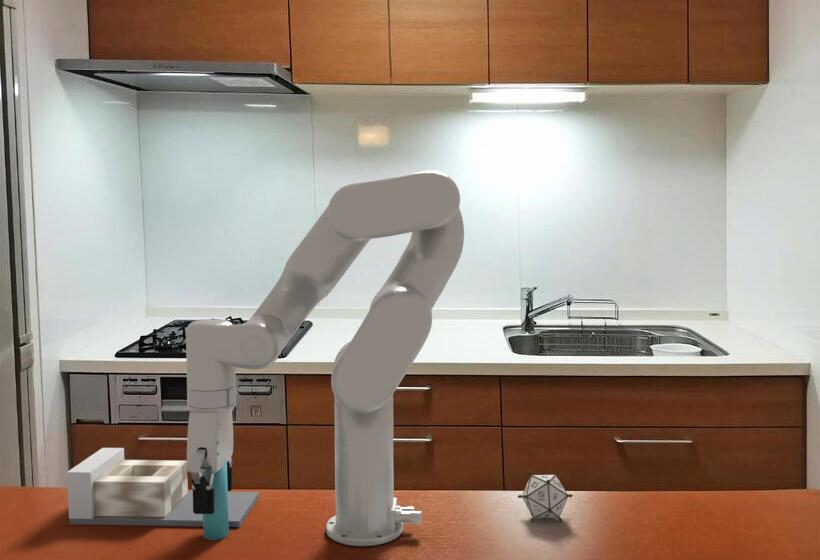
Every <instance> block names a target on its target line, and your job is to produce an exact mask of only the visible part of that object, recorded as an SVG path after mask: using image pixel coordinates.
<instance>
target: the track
mask: <svg viewBox="0 0 820 560" xmlns="http://www.w3.org/2000/svg"><path fill="white" fill-rule="evenodd" d="M122 460H125V448H124V447H102V448H100V449H98V451H95V452H94V453H93V454H91V455H90V456H88V457H86V459H84V460H82V461H81V462H80V463H78V464H77V465H75V466H74V467H72V468H70V470H68V471H66V481H67V483H66V484H67V500H68V505H67V506H68V523H69V525H92V526H93V525H94V526H97V525H98V526H101V525H103V526H148V527H149V526H151V527H152V526H155V527H158V526H159V527H203V514H194V513H193V490H188V493H187V494H186V495H185V496H184V497H183V498H182V500H181V501H180V502H179V503H178V504H177V505H176V506H175V507H174V508H173V509H172V510H171V511H170V512H169V514H168V515H167V516H166V517H134V516H96V514H95V491H94V481H95V480H97V479H98V478H99V477H101V476H102V475H103V474H104V473H106V472H107V471H108V470H110V469H111V468H112V467H114V466H115V465H116V464H118V463H119V462H120V461H122ZM259 498H260V492H259V491H228V521H229V528H240V527H241V525H242V524H243V523H244V522H245V520H246V518H247V517H248V515H249V514H248V513H250V512H251V511H252V509H253V508H254V506H255V505H256V503H257V501H258V500H259ZM257 499H258V500H257ZM254 504H255V505H254ZM252 507H253V508H252ZM250 510H251V511H250ZM246 516H247V517H246ZM244 519H245V520H244Z"/></svg>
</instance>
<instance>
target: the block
mask: <svg viewBox="0 0 820 560" xmlns="http://www.w3.org/2000/svg"><path fill="white" fill-rule="evenodd" d="M188 481H189V479H188V471H187V460H165V459H163V460H161V459H160V460H159V459H157V460H156V459H124V460H122V461H120V462H119V463H118V464H116V465H115V466H114V467H112V468H111V469H110V470H108V471H107V472H106V473H104V474H103V475H102V476H101V477H99V478H98V479H97V480H95V481H94V491H95V514H96V516H134V517H166V516H167V515H168V514H169V512H170V511H171V510H172V509H173V508H174V507H175V506H176V505H177V504H178V503H179V502H180V501H181V500H182V498H183V497H184V496H185V495H186V494H187V493H188V491H189V486H188V485H189V483H188Z"/></svg>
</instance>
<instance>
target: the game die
mask: <svg viewBox="0 0 820 560" xmlns="http://www.w3.org/2000/svg"><path fill="white" fill-rule="evenodd" d="M527 474H528V475H529V478H528V480H527V482H526V485H525V487H524V489H523V492H522V494H518V496H516V497H517V498H519V499H522V500H523V502H524V504H525V506H526V508H527V510H528V512H529V513H530V515H531V518H530V523H531V522H532V523H534V521H535V519H558V521H559V522H560V523H562V522H563V518H562V517H561V514H562V512H563V510H564V508H565V505H566V503H567V500H568V498H572V497H573V496H574V495H573V494H571V493H569V494H568V493H567V491H566V489H565V487H564V485H563V484H562V482H561V480H560V479H559V477H558V475H559V470H558V469H557V470H555V473H554V474H553V473H552V474H550V473H549V474H546V473H545V474H532V472H531V471H529V470H527Z"/></svg>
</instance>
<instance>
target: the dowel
mask: <svg viewBox="0 0 820 560" xmlns="http://www.w3.org/2000/svg"><path fill="white" fill-rule="evenodd" d="M203 469H211V467H203ZM202 476H204V477H205V478H206V480H207V479H208V475H202ZM212 488H214V513H213V514H203V526H202V533H203V534H202V535H203V538H204V539H206V540H208V541H209V540H210V541H218V540H222V539H225V538H227V537H228V536H230V535H229V534H230V533H229V532H230V531H229V529H230V527H229V521H228V492H229V491H228V486H227V462H226V463H225V464H224V466H223V467H222V468H221V469H220V470H219V471H218V472H216V473H215V474H214V478H213V483H212Z"/></svg>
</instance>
